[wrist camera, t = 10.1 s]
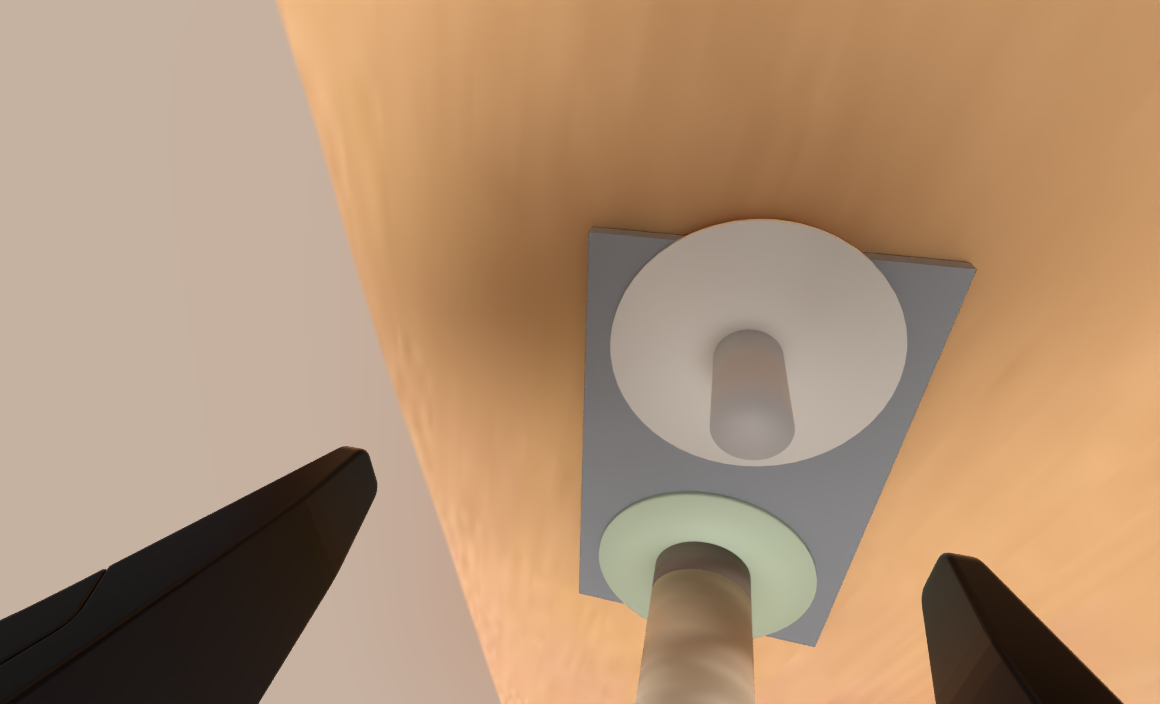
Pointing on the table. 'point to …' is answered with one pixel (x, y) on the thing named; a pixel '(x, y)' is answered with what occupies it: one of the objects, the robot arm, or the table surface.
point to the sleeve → (698, 629)
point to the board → (776, 487)
